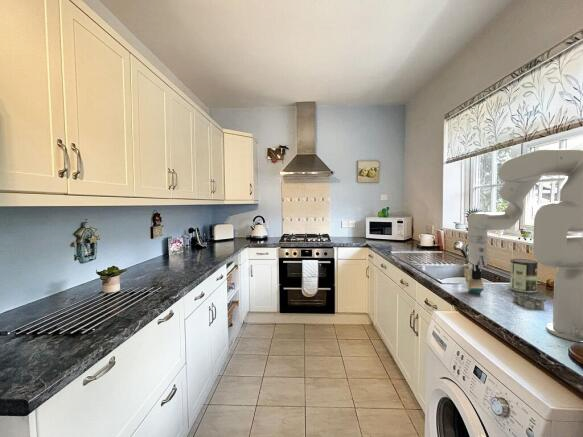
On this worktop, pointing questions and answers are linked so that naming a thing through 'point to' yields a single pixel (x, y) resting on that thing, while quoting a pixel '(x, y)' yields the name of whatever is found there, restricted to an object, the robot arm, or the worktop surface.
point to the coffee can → (523, 275)
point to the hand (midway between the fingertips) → (476, 279)
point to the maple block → (473, 283)
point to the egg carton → (525, 300)
